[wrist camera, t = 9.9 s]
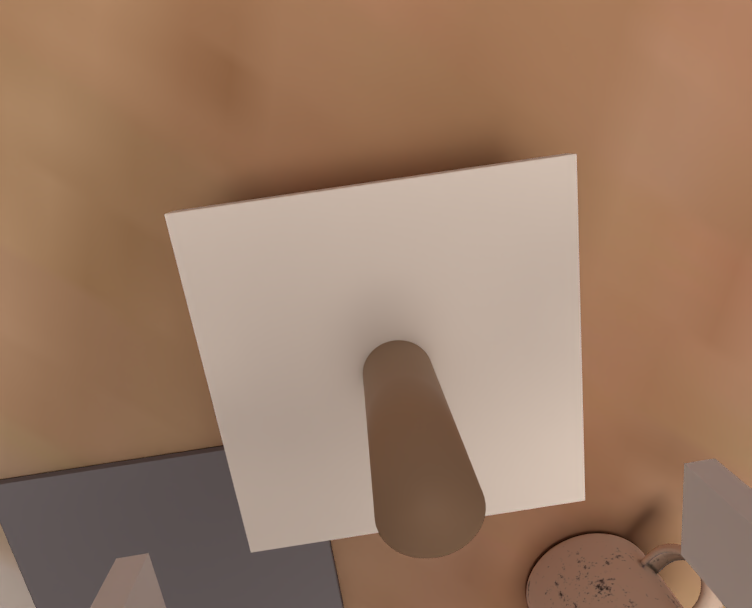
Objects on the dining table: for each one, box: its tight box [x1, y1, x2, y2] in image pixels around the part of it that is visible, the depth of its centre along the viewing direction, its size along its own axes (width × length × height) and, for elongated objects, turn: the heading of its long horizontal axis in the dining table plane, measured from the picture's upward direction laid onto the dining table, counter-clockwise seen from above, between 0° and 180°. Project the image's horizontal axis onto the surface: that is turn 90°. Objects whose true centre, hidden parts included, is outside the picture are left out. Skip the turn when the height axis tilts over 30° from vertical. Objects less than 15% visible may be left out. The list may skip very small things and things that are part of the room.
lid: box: [164, 153, 585, 558], centre depth 19 cm, size 16×16×10 cm
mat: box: [0, 446, 344, 608], centre depth 34 cm, size 19×19×1 cm
